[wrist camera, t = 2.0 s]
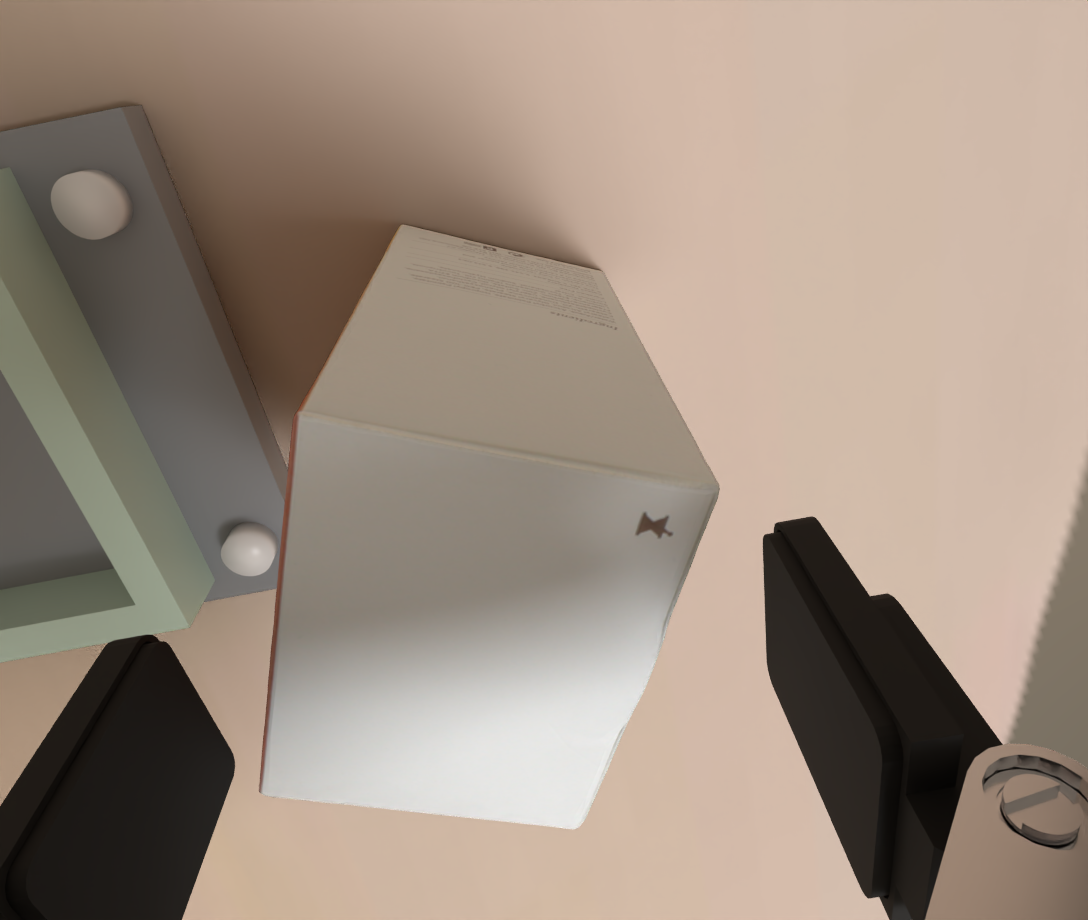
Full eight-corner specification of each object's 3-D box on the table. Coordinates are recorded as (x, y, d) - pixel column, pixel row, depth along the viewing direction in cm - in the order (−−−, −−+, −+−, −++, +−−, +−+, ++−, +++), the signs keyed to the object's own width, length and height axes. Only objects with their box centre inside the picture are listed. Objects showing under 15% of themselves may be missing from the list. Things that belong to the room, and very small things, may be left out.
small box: (397, 219, 21) (287, 401, 9) (608, 268, 22) (738, 485, 11) (361, 462, 25) (251, 806, 13) (544, 494, 26) (590, 838, 14)
